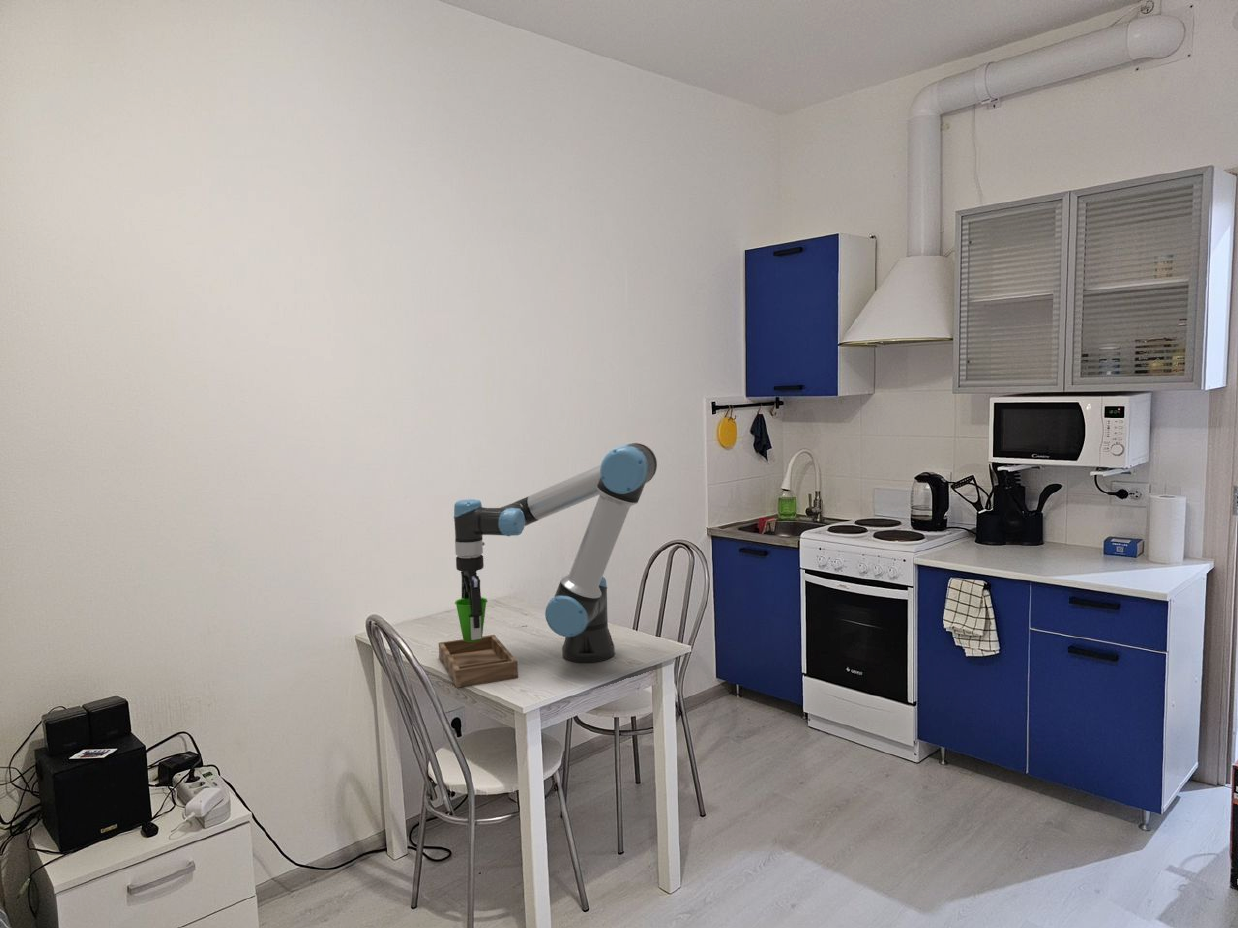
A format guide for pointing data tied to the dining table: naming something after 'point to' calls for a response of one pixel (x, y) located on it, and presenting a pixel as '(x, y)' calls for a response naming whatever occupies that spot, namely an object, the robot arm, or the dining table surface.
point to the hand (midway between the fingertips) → (472, 633)
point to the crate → (477, 661)
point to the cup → (464, 618)
